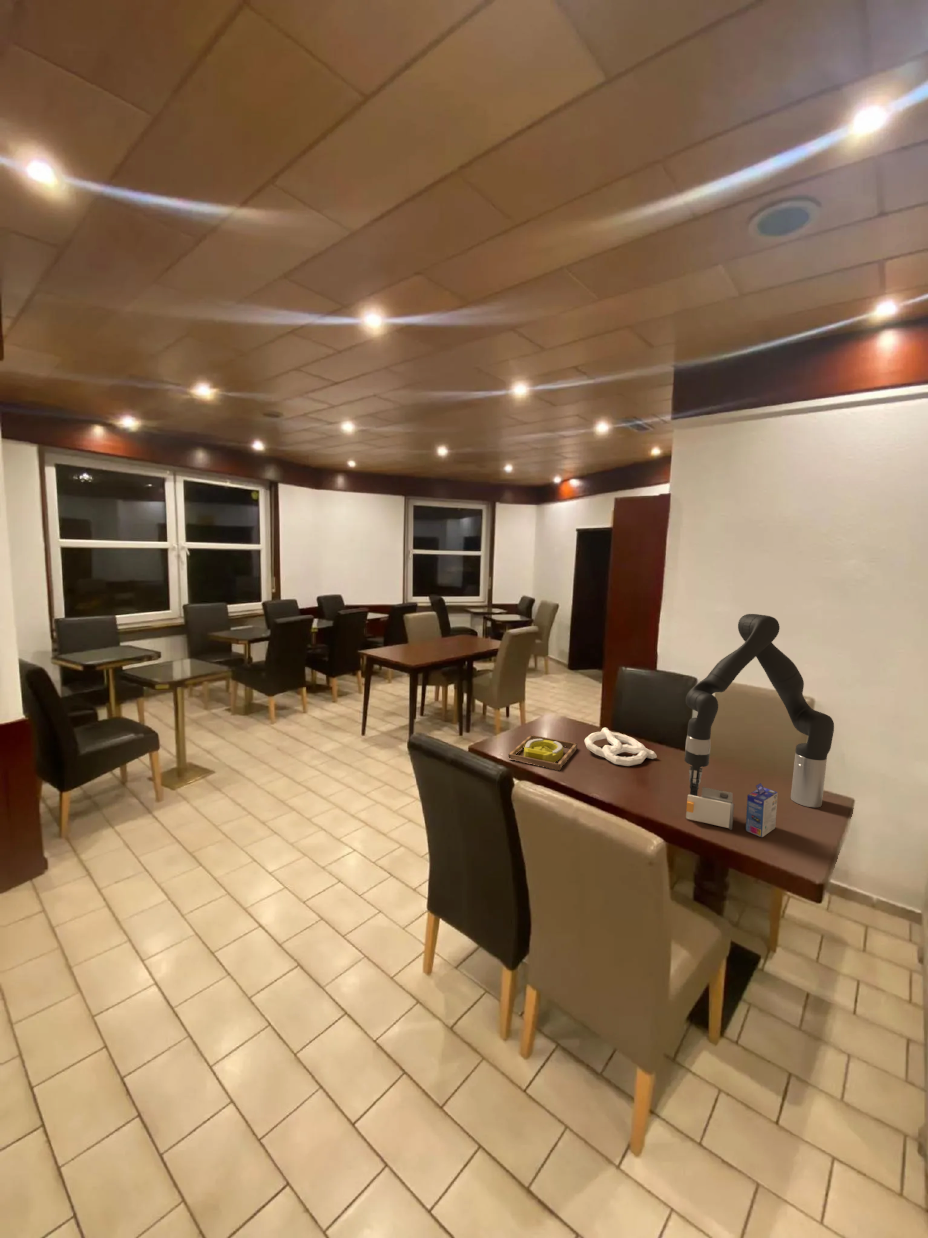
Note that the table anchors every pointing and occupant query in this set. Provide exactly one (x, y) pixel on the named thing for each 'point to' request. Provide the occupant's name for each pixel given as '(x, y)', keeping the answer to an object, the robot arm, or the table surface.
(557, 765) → the wooden tray
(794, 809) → the table surface
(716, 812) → the door
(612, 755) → the pretzel
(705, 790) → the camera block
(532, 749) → the ashtray
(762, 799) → the ink cartridge box
